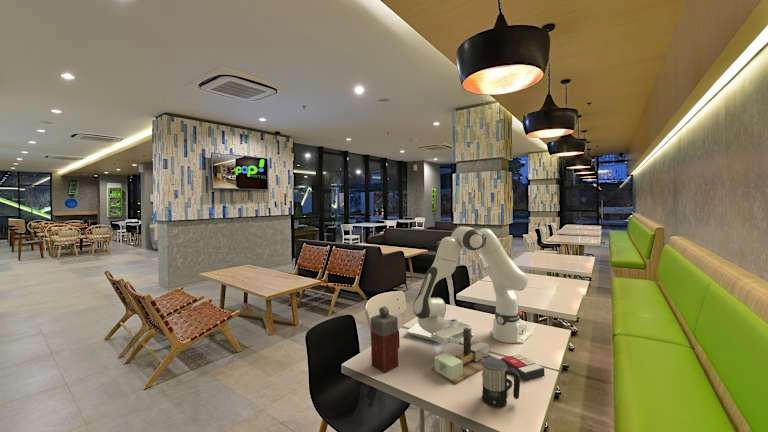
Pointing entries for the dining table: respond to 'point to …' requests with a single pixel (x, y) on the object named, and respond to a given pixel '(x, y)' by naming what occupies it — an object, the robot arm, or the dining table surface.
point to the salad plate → (420, 332)
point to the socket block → (448, 365)
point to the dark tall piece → (466, 347)
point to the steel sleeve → (480, 351)
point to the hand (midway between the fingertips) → (466, 339)
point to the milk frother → (498, 382)
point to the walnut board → (465, 371)
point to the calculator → (524, 367)
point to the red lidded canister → (384, 341)
